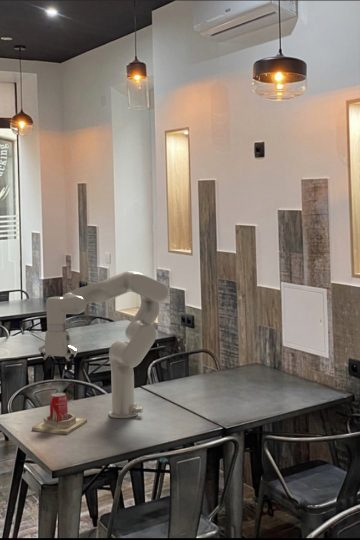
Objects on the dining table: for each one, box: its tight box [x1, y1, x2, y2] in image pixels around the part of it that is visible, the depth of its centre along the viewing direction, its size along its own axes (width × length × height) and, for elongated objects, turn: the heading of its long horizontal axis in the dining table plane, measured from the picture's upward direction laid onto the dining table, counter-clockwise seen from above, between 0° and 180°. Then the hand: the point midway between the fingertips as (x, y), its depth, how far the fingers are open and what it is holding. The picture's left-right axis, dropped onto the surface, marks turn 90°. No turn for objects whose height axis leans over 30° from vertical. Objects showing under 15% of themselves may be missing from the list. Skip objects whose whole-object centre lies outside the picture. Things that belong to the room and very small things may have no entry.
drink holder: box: [31, 412, 88, 435], centre depth 266 cm, size 16×16×4 cm
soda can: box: [49, 391, 69, 422], centre depth 266 cm, size 7×7×12 cm
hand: (58, 369), depth 264 cm, fingers open, 9 cm apart
